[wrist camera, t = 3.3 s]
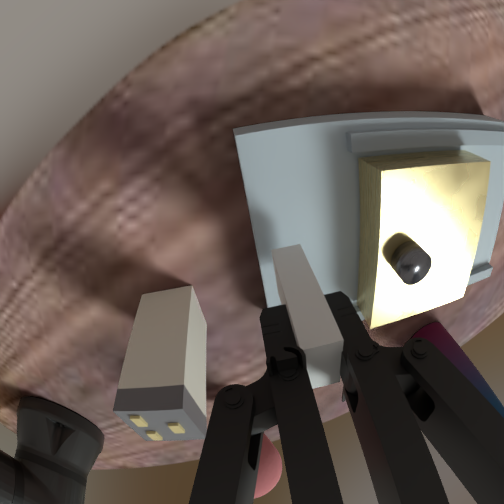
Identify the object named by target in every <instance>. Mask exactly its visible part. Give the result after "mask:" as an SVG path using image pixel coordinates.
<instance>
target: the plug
mask: <svg viewBox="0 0 504 504" xmlns="http://www.w3.org/2000/svg"><path fill="white" fill-rule="evenodd" d="M206 331H207V324H206V321H205V318H204V316H203V313H202V311H201V308H200V305H199V303H198V300H197V297H196V295H195V292H194V289H193V286H192V285H191V286H185V287H180V288H175V289H169V290H164V291H158V292H153V293H147V294H142V297H141V300H140V303H139V307H138V310H137V314H136V317H135V321H134V324H133V328H132V331H131V335H130V339H129V343H128V347H127V351H126V355H125V359H124V363H123V367H122V371H121V375H120V380H119V384H118V389H117V394H116V398H115V403H114V408H113V412H114V413H115V414H117V415H118V416H119V417H120V418H121V419H122V420H123V421H124V422H125V423H126V424H127V425H128V426H129V427H131V428H132V429H133V430H134V431H135V432H136V433H137V434H139V435H140V436H141V437H142V438H143V439H144V440H146V441H171V440H195V439H205V437H206V433H207V427H206Z"/></svg>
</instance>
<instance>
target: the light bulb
mask: <svg viewBox="0 0 504 504" xmlns="http://www.w3.org/2000/svg"><path fill="white" fill-rule="evenodd" d="M281 472H282V461H281V457H280V455H279V452H278V451H277V450H276V448H275V447H274V445H273V444H272V443H271V441H270V440H269V439H268V438H267V436H266V435H265V434H263V441H262V448H261V455H260V462H259V469H258V475H257V482H256V488H255V494H254V498H257V497H260V496H263V495H265V494H266V493H267V492H269V491H270V490H271V489H272V488H274V486H275V485H276V484H277V482H278V481H279V479H280V476H281Z"/></svg>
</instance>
